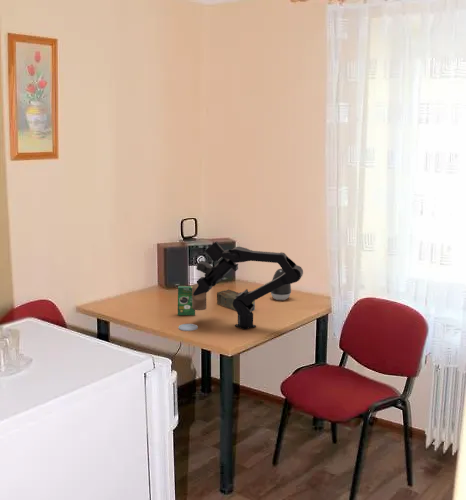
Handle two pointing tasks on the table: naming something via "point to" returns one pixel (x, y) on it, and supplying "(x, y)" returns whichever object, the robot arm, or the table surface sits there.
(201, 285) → the robot arm
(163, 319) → the table surface
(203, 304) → the brown rounded cylinder
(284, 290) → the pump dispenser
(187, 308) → the coffee box
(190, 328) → the slate pad
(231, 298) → the beverage carton
